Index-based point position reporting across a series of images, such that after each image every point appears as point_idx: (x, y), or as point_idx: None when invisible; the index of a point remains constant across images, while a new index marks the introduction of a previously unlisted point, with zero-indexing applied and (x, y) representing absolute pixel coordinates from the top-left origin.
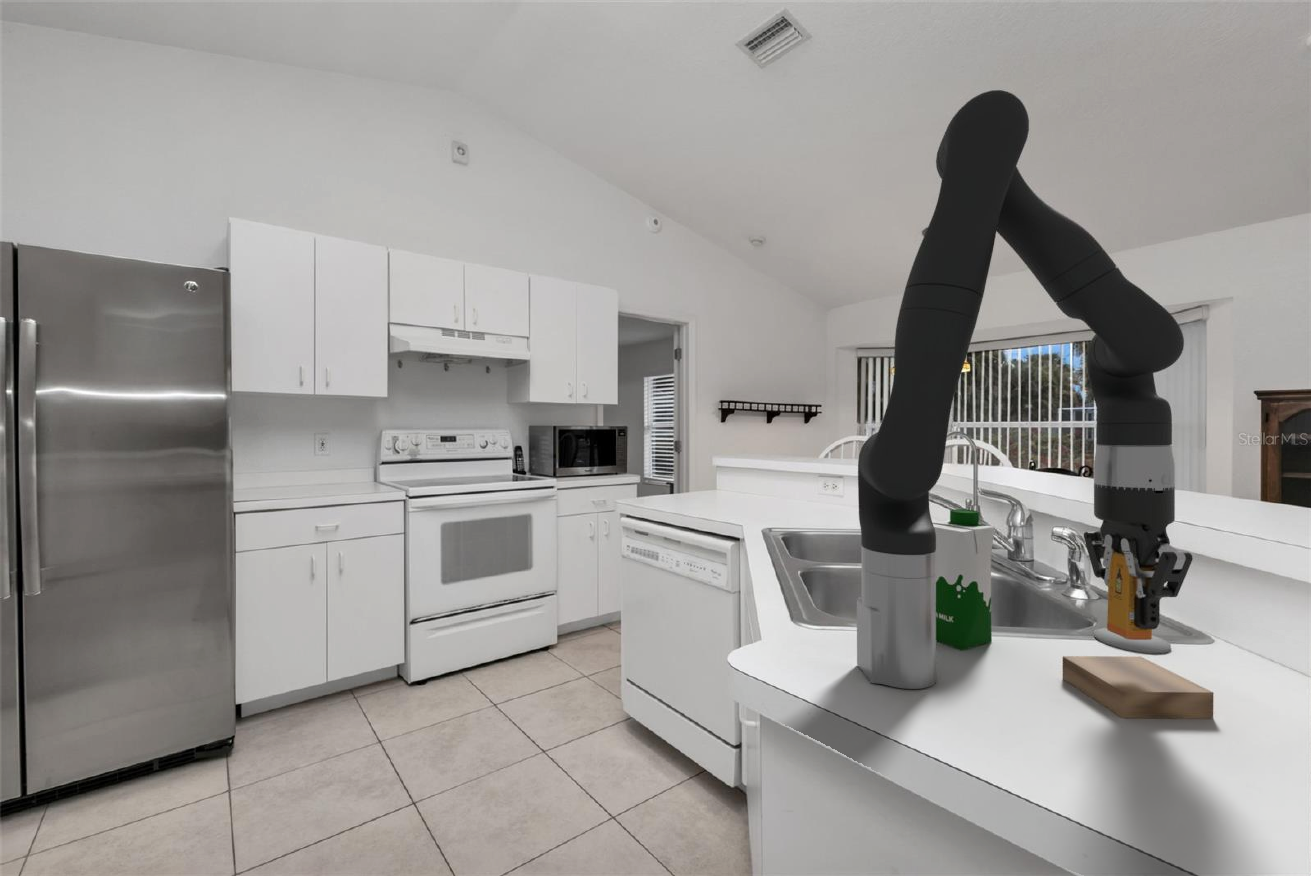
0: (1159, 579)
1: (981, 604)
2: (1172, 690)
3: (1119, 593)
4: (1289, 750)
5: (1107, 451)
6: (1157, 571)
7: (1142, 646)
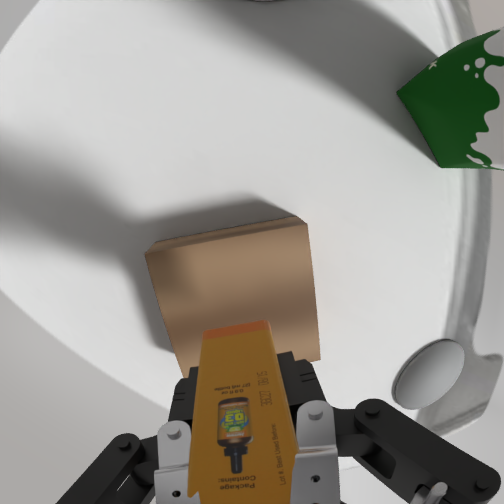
0: (87, 478)
1: (466, 126)
2: (175, 335)
3: (226, 400)
4: (130, 381)
5: None
6: (85, 497)
7: (409, 382)
